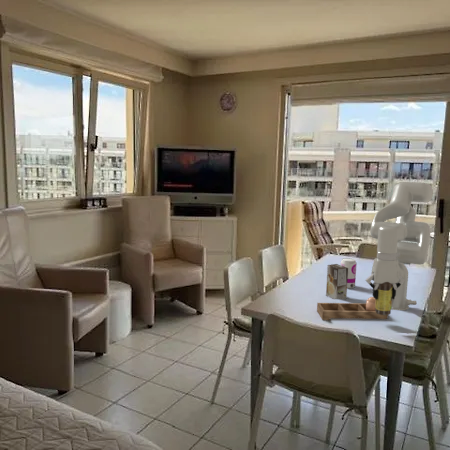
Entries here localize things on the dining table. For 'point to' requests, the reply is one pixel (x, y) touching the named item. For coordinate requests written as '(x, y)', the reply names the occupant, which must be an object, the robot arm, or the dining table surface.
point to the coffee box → (337, 281)
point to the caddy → (346, 311)
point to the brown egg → (370, 304)
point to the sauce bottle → (384, 299)
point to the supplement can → (350, 271)
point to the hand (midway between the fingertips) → (383, 297)
